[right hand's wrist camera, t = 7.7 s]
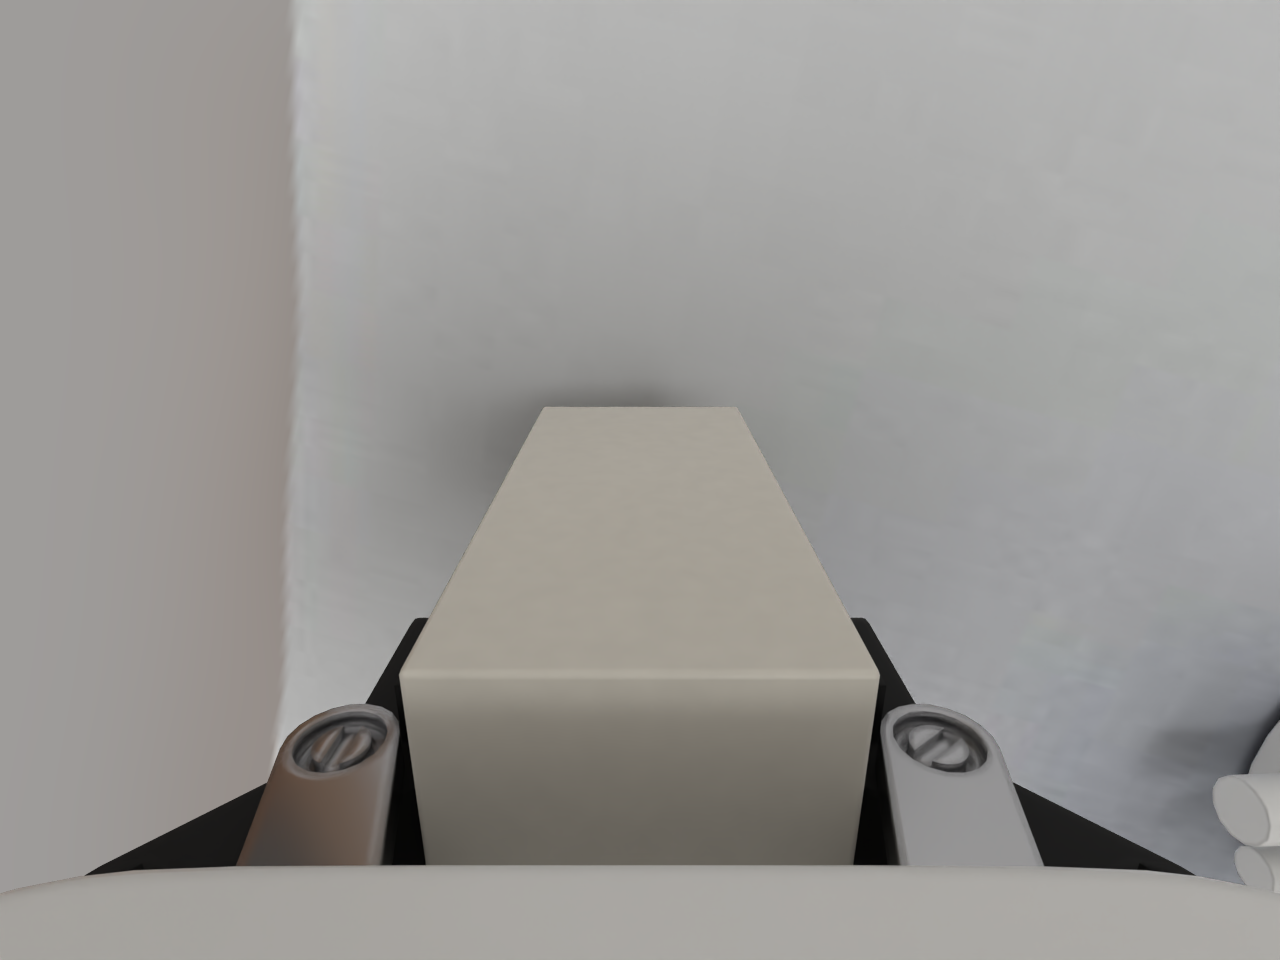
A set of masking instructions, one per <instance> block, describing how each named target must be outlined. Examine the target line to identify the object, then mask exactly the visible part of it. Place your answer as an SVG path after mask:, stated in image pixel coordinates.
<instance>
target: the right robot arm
mask: <svg viewBox="0 0 1280 960" xmlns="http://www.w3.org/2000/svg"><path fill="white" fill-rule="evenodd" d="M813 550H814V549H813ZM820 563H821V562H820ZM428 619H429V618H417V619H415V620H414V621H413V622H412V624H411V625H410V627H409V629H408V631H407V632H406V634H405V636H404V637H403V639H402V641H401V643H400V644H399V646H398V648H397V650H396V651H395V653H394V655H393V657H392V658H391V660H390V662H389V664H388V665H387V667H386V669H385V670H384V672H383V674H382V676H381V677H380V679H379V681H378V683H377V684H376V686H375V688H374V690H373V691H372V693H371V695H370V696H369V698H368V700H367V702H366V703H365V704H353V705H346V706H342V707H337V708H333V709H330V710H328V711H325V712H323V713H320V714H318V715H315V716H314V717H312V718H310V719H309V720H307V721H305V722H304V723H302V724H301V725H299V726H298V727H297V728H296V729H295V730H294V731H293V732H292V733H291V734H290V735H289V736H287V738H286V740H285V741H284V743H283V745H282V746H281V748H280V750H279V753H278V756H277V758H276V761H275V763H274V766H273V769H272V771H271V774H270V777H269V779H268V782H267V783H265V784H263V785H261V786H260V787H257V788H256V789H253V790H251V791H249V792H247V793H246V794H243V795H242V796H240V797H238V798H236V799H234V800H232V801H230V802H228V803H226V804H224V805H222V806H220V807H218V808H216V809H214V810H212V811H210V812H208V813H206V814H204V815H202V816H200V817H198V818H196V819H194V820H192V821H190V822H188V823H186V824H184V825H182V826H180V827H178V828H176V829H174V830H172V831H170V832H168V833H166V834H164V835H162V836H160V837H158V838H156V839H154V840H152V841H150V842H148V843H146V844H144V845H142V846H140V847H138V848H136V849H134V850H132V851H130V852H128V853H126V854H124V855H122V856H120V857H118V858H116V859H114V860H112V861H110V862H108V863H106V864H104V865H102V866H100V867H98V868H97V869H95V870H93V871H91V872H90V873H88V874H86V875H85V876H79V877H74V878H69V879H64V880H59V881H54V882H49V883H43V884H39V885H33V886H28V887H23V888H18V889H14V890H10V891H7V892H4V893H0V960H1280V720H1279V721H1278V723H1277V724H1276V725H1275V726H1274V728H1273V729H1272V730H1271V731H1270V733H1269V734H1268V735H1267V737H1266V738H1265V740H1264V742H1263V744H1262V746H1261V747H1260V749H1259V751H1258V753H1257V755H1256V757H1255V758H1254V760H1253V762H1252V764H1251V767H1250V770H1249V773H1248V774H1241V775H1227V776H1224V777H1220V778H1218V779H1217V781H1216V783H1215V785H1214V787H1213V805H1214V807H1215V810H1216V813H1217V815H1218V818H1219V820H1220V822H1221V823H1222V824H1223V826H1224V827H1225V828H1226V830H1227V831H1228V832H1229V834H1230V835H1231V836H1233V837H1234V838H1236V839H1237V840H1238V841H1240V842H1241V843H1243V844H1244V845H1247V846H1239V847H1238V848H1237V849H1236V850H1235V853H1234V864H1235V867H1236V870H1237V873H1238V875H1239V876H1240V878H1241V879H1242V881H1243V882H1244V884H1245V885H1242V884H1236V883H1231V882H1226V881H1221V880H1216V879H1211V878H1206V877H1201V876H1196V875H1194V874H1192V873H1191V872H1189V871H1187V870H1186V869H1184V868H1182V867H1181V866H1179V865H1177V864H1175V863H1173V862H1171V861H1169V860H1167V859H1165V858H1163V857H1161V856H1159V855H1157V854H1155V853H1153V852H1151V851H1149V850H1147V849H1145V848H1143V847H1141V846H1139V845H1137V844H1135V843H1133V842H1131V841H1129V840H1127V839H1125V838H1123V837H1121V836H1119V835H1117V834H1115V833H1113V832H1111V831H1109V830H1107V829H1105V828H1103V827H1101V826H1099V825H1097V824H1095V823H1093V822H1091V821H1089V820H1087V819H1085V818H1083V817H1081V816H1079V815H1077V814H1075V813H1073V812H1071V811H1069V810H1067V809H1065V808H1063V807H1061V806H1059V805H1057V804H1055V803H1053V802H1051V801H1049V800H1047V799H1045V798H1043V797H1041V796H1039V795H1037V794H1035V793H1033V792H1031V791H1029V790H1027V789H1025V788H1023V787H1021V786H1019V785H1017V784H1015V783H1013V782H1012V779H1011V777H1010V774H1009V771H1008V769H1007V766H1006V763H1005V761H1004V758H1003V756H1002V753H1001V750H1000V748H999V746H998V745H997V743H996V741H995V740H994V738H993V736H991V735H990V734H989V733H988V732H987V731H986V730H985V729H984V728H983V727H982V726H981V725H979V724H978V723H976V722H975V721H973V720H971V719H970V718H968V717H966V716H965V715H962V714H960V713H957V712H955V711H952V710H950V709H947V708H943V707H938V706H934V705H927V704H915V702H914V701H913V699H912V697H911V695H910V694H909V692H908V690H907V688H906V687H905V685H904V683H903V681H902V680H901V678H900V676H899V675H898V673H897V671H896V669H895V668H894V666H893V664H892V662H891V661H890V659H889V657H888V655H887V654H886V652H885V650H884V648H883V647H882V645H881V643H880V642H879V640H878V638H877V636H876V635H875V633H874V631H873V629H872V628H871V626H870V624H869V623H868V622H867V620H866V619H864V618H851V620H852V622H853V624H854V626H855V628H856V630H857V631H858V633H859V635H860V637H861V639H862V641H863V643H864V645H865V646H866V648H867V650H868V652H869V654H870V656H871V658H872V659H873V661H874V663H875V665H876V667H877V669H878V671H879V674H880V678H879V685H878V692H877V699H876V706H875V714H874V721H873V728H872V735H871V742H870V749H869V756H868V763H867V770H866V777H865V784H864V791H863V798H862V806H861V813H860V820H859V827H858V834H857V841H856V848H855V855H854V862H853V865H426V861H425V854H424V847H423V840H422V833H421V826H420V819H419V812H418V805H417V798H416V791H415V784H414V777H413V770H412V762H411V755H410V748H409V741H408V734H407V727H406V720H405V713H404V706H403V699H402V692H401V685H400V678H399V674H400V671H401V668H402V667H403V665H404V663H405V661H406V659H407V657H408V656H409V654H410V652H411V650H412V648H413V646H414V644H415V643H416V641H417V639H418V637H419V635H420V633H421V632H422V630H423V628H424V626H425V624H426V622H427V621H428Z"/></svg>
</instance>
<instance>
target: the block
mask: <svg viewBox="0 0 1280 960" xmlns="http://www.w3.org/2000/svg"><path fill="white" fill-rule="evenodd" d="M399 678H400V685H401V692H402V699H403V706H404V713H405V720H406V727H407V734H408V741H409V748H410V755H411V762H412V770H413V777H414V784H415V791H416V798H417V805H418V812H419V819H420V826H421V833H422V840H423V847H424V854H425V861H426V865H853V862H854V855H855V848H856V841H857V834H858V827H859V820H860V813H861V806H862V798H863V791H864V784H865V777H866V770H867V763H868V756H869V749H870V742H871V735H872V728H873V721H874V714H875V706H876V699H877V692H878V685H879V678H880V674H879V671H878V669H877V667H876V665H875V663H874V661H873V659H872V658H871V656H870V654H869V652H868V650H867V648H866V646H865V645H864V643H863V641H862V639H861V637H860V635H859V633H858V631H857V630H856V628H855V626H854V624H853V622H852V620H851V618H850V617H849V615H848V613H847V611H846V609H845V607H844V605H843V604H842V602H841V600H840V598H839V596H838V594H837V592H836V590H835V589H834V587H833V585H832V583H831V581H830V579H829V577H828V576H827V574H826V572H825V570H824V568H823V566H822V564H821V563H820V561H819V559H818V557H817V555H816V553H815V551H814V550H813V548H812V546H811V544H810V542H809V540H808V538H807V536H806V535H805V533H804V531H803V529H802V527H801V525H800V523H799V522H798V520H797V518H796V516H795V514H794V512H793V510H792V509H791V507H790V505H789V503H788V501H787V499H786V497H785V495H784V494H783V492H782V490H781V488H780V486H779V484H778V482H777V481H776V479H775V477H774V475H773V473H772V471H771V469H770V468H769V466H768V464H767V462H766V460H765V458H764V456H763V454H762V453H761V451H760V449H759V447H758V445H757V443H756V441H755V440H754V438H753V436H752V434H751V432H750V430H749V428H748V427H747V425H746V423H745V421H744V419H743V417H742V415H741V414H740V412H739V410H738V408H736V407H544V408H543V409H542V411H541V412H540V414H539V416H538V418H537V420H536V422H535V424H534V425H533V427H532V429H531V431H530V433H529V435H528V436H527V438H526V440H525V442H524V444H523V446H522V447H521V449H520V451H519V453H518V455H517V457H516V458H515V460H514V462H513V464H512V466H511V468H510V470H509V471H508V473H507V475H506V477H505V479H504V481H503V482H502V484H501V486H500V488H499V490H498V492H497V493H496V495H495V497H494V499H493V501H492V503H491V505H490V506H489V508H488V510H487V512H486V514H485V516H484V517H483V519H482V521H481V523H480V525H479V527H478V528H477V530H476V532H475V534H474V536H473V538H472V540H471V541H470V543H469V545H468V547H467V549H466V551H465V552H464V554H463V556H462V558H461V560H460V562H459V563H458V565H457V567H456V569H455V571H454V573H453V575H452V576H451V578H450V580H449V582H448V584H447V586H446V587H445V589H444V591H443V593H442V595H441V597H440V598H439V600H438V602H437V604H436V606H435V608H434V609H433V611H432V613H431V615H430V617H429V619H428V621H427V622H426V624H425V626H424V628H423V630H422V632H421V633H420V635H419V637H418V639H417V641H416V643H415V644H414V646H413V648H412V650H411V652H410V654H409V656H408V657H407V659H406V661H405V663H404V665H403V667H402V668H401V671H400V674H399Z"/></svg>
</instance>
